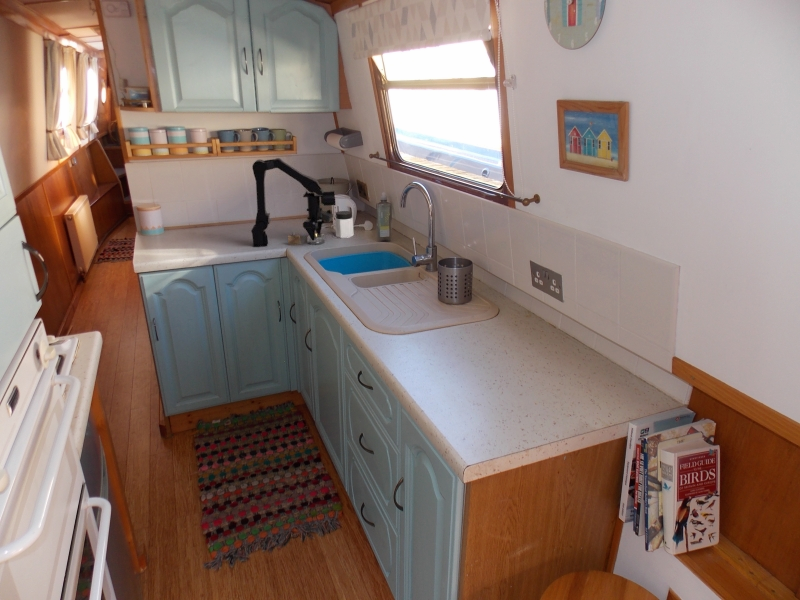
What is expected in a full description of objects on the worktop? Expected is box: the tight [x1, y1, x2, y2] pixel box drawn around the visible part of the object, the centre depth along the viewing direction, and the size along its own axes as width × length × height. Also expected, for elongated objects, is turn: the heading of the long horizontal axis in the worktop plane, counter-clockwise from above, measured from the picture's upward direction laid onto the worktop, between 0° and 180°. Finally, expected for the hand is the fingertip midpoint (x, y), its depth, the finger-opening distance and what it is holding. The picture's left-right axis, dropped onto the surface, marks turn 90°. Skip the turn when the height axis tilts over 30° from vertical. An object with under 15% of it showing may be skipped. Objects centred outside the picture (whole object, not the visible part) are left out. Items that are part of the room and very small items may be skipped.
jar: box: [334, 210, 354, 239], centre depth 283 cm, size 9×8×12 cm
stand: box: [287, 232, 301, 246], centre depth 271 cm, size 6×2×6 cm, turn 106°
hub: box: [307, 232, 326, 246], centre depth 273 cm, size 8×8×5 cm
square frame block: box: [306, 233, 326, 243], centre depth 273 cm, size 7×7×2 cm
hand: (316, 237), depth 273 cm, fingers open, 9 cm apart
